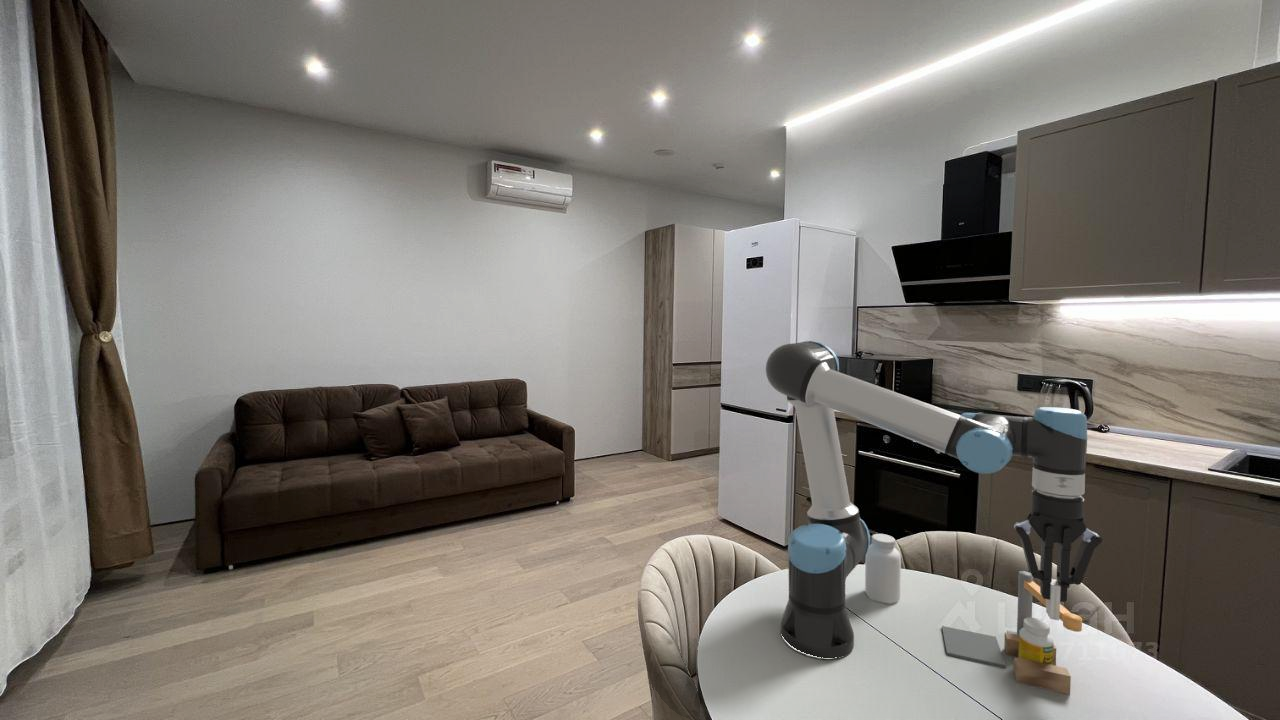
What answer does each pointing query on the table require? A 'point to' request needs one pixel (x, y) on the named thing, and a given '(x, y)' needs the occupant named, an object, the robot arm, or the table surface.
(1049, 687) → the wooden block set
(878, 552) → the pill bottle
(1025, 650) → the supplement bottle
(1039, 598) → the grey orange l-shaped piece
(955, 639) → the mat
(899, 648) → the table surface
